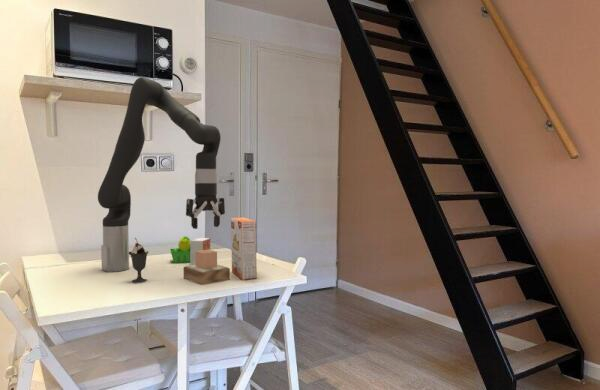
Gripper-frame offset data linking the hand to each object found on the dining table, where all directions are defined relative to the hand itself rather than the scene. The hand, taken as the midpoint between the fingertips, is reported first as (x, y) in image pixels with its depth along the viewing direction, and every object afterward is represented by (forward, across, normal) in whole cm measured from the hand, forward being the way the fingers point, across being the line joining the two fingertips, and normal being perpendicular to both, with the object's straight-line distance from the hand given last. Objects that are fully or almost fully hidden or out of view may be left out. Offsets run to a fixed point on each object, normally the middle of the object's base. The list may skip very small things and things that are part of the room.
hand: (205, 227), depth 157 cm
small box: (+19, -11, -23) cm, 32 cm away
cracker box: (+18, -13, +5) cm, 23 cm away
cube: (+14, 0, 0) cm, 14 cm away
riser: (+18, 0, 0) cm, 18 cm away
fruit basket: (+19, -9, -33) cm, 39 cm away
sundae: (+19, +19, -13) cm, 30 cm away
